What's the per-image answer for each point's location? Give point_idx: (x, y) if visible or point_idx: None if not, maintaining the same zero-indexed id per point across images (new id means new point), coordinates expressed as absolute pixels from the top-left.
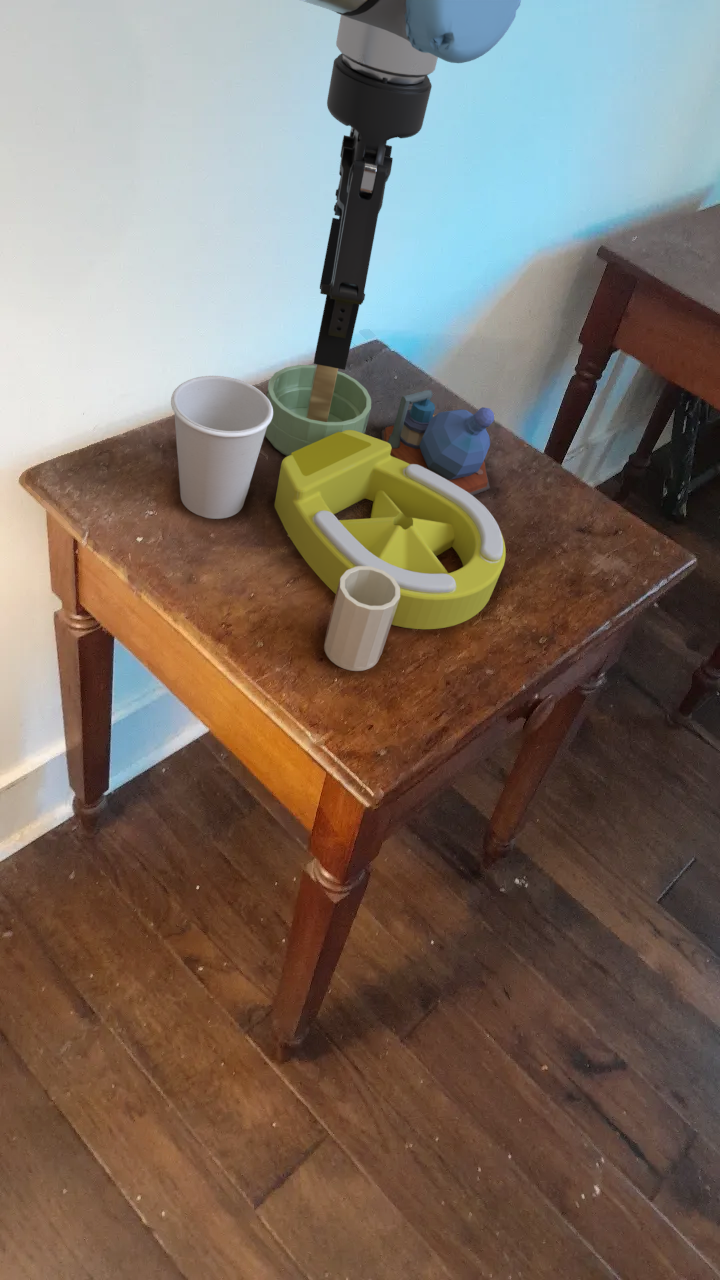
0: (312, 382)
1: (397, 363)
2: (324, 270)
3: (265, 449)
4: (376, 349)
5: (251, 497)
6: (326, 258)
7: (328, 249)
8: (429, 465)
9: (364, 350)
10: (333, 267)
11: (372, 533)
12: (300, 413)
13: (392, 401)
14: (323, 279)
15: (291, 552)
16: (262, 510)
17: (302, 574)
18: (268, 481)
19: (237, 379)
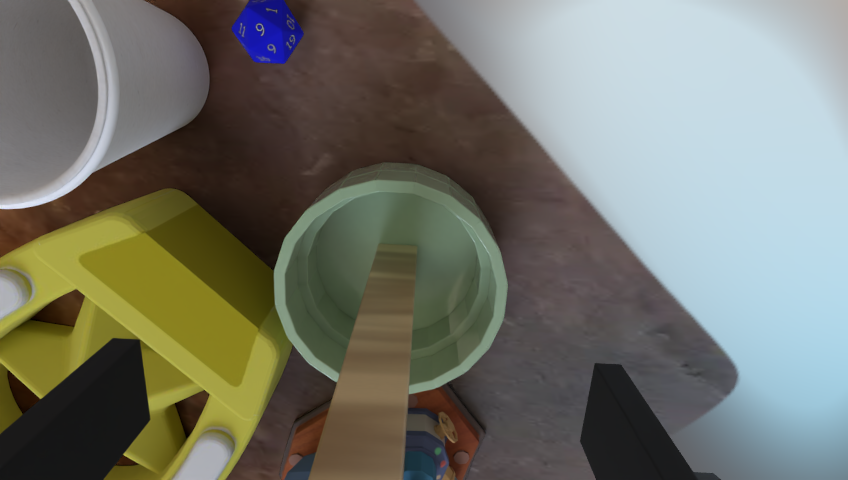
0: (412, 282)
1: (684, 419)
2: (618, 408)
3: (333, 169)
4: (731, 385)
5: (178, 146)
6: (634, 439)
7: (651, 469)
8: (301, 459)
9: (725, 363)
10: (620, 445)
11: (72, 358)
12: (452, 237)
13: (548, 401)
14: (605, 389)
15: (57, 217)
16: (149, 167)
17: (11, 235)
18: (236, 176)
19: (103, 105)
